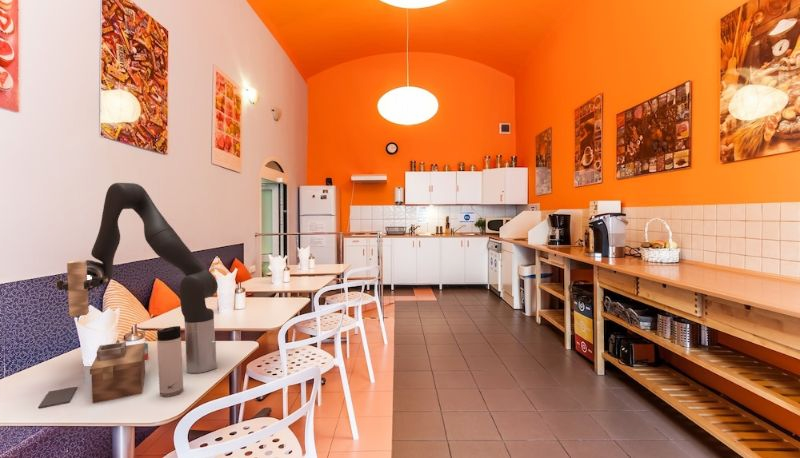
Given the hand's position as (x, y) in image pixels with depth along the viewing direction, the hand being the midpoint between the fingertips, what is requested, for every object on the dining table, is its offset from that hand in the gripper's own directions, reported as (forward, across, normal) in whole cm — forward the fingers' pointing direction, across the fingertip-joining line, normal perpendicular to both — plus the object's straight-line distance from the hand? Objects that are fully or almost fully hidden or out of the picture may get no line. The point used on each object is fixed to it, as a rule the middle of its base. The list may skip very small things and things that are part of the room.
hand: (75, 286), depth 123 cm
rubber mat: (-2, -6, +33) cm, 34 cm away
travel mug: (+12, +24, +33) cm, 43 cm away
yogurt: (-22, +13, +34) cm, 42 cm away
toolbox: (-2, +10, +33) cm, 35 cm away
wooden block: (-3, 0, +9) cm, 9 cm away
